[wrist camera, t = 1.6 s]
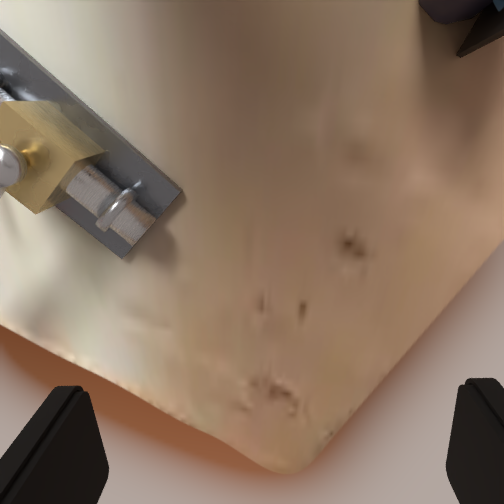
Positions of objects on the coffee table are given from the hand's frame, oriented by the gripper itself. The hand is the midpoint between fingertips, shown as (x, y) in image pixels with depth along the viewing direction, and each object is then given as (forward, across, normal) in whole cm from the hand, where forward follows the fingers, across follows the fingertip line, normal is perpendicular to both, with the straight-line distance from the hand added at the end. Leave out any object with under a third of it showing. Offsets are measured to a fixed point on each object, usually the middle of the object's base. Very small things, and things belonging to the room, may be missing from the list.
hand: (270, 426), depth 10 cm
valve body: (+27, +18, -5) cm, 33 cm away
